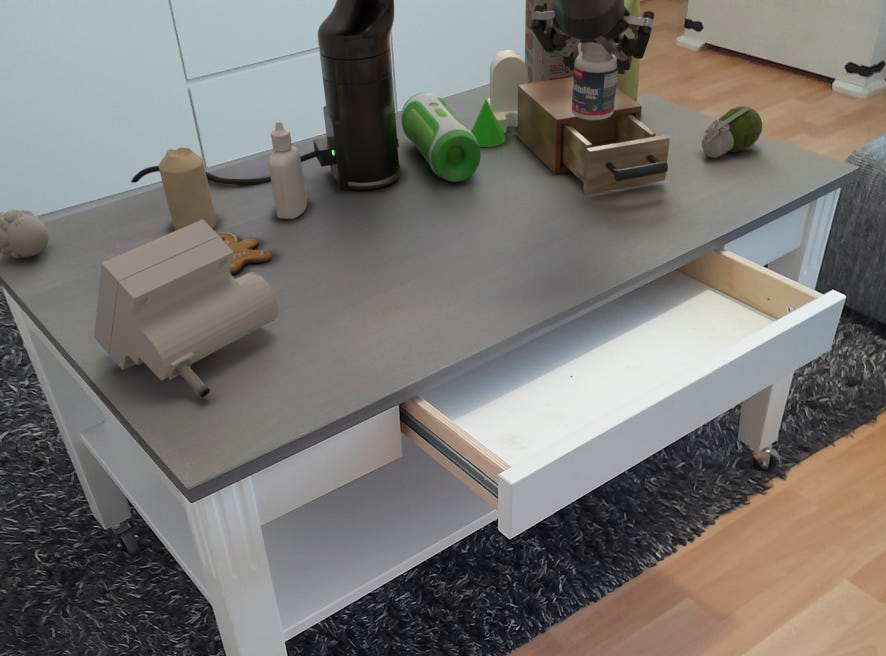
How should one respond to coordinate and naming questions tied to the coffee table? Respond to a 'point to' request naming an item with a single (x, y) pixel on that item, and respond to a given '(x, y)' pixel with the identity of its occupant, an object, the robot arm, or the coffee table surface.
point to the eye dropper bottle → (286, 175)
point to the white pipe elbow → (177, 303)
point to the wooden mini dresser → (555, 116)
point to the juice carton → (542, 50)
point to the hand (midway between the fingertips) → (598, 64)
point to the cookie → (243, 251)
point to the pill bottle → (594, 83)
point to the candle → (186, 188)
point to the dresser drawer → (614, 153)
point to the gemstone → (487, 128)
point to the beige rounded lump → (22, 234)
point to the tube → (631, 76)
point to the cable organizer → (506, 87)
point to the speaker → (440, 137)
